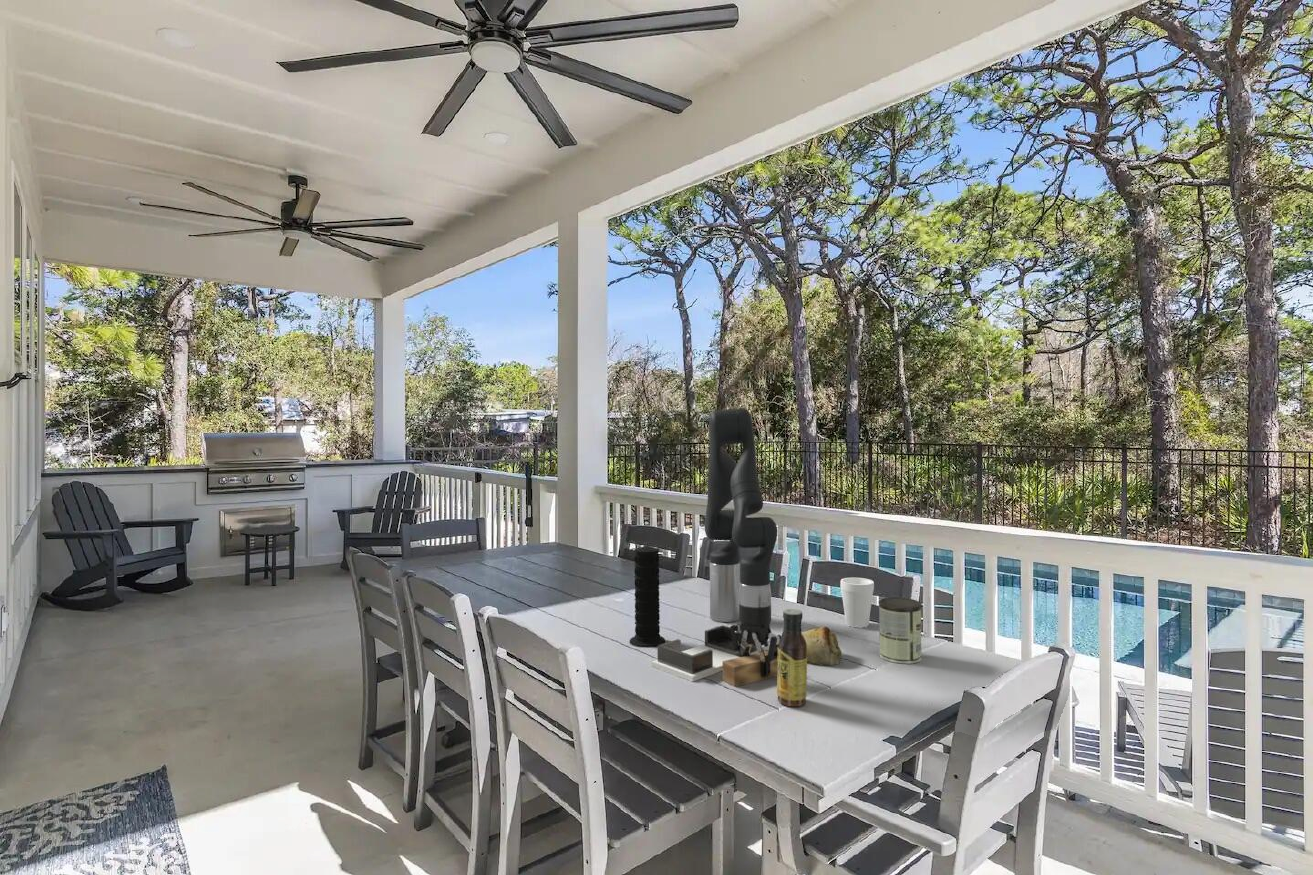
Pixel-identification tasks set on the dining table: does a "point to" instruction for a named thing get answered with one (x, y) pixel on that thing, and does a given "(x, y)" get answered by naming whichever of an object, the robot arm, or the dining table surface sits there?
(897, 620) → the coffee can
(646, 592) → the handle grip
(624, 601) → the dining table surface
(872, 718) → the dining table surface
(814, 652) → the pastry
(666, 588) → the dining table surface
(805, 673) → the sauce bottle
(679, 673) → the mounting board
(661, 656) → the brackets
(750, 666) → the oak rail
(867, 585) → the foam cup
